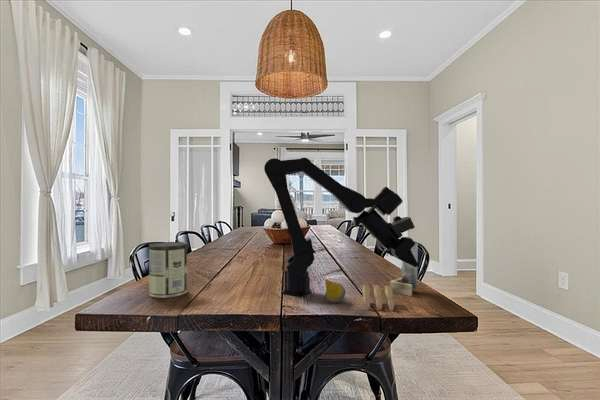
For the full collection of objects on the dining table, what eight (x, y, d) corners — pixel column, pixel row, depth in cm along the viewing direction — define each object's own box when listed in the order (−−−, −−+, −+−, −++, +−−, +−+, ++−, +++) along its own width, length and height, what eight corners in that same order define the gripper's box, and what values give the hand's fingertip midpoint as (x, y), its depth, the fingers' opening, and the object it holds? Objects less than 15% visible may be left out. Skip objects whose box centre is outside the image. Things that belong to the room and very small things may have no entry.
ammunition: (362, 283, 96) (364, 290, 88) (390, 284, 95) (395, 292, 87) (362, 301, 96) (364, 310, 88) (390, 302, 95) (395, 312, 87)
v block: (395, 296, 101) (395, 285, 101) (385, 287, 110) (385, 278, 110) (413, 295, 101) (413, 285, 101) (402, 287, 110) (402, 278, 110)
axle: (398, 286, 106) (399, 242, 106) (406, 284, 109) (406, 241, 109) (412, 289, 102) (412, 244, 102) (420, 287, 105) (420, 242, 105)
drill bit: (351, 304, 94) (337, 283, 88) (332, 311, 95) (317, 291, 89) (346, 288, 98) (332, 267, 92) (329, 295, 99) (314, 275, 93)
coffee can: (164, 287, 109) (164, 241, 109) (194, 290, 106) (194, 242, 106) (140, 296, 99) (140, 245, 99) (172, 299, 96) (173, 246, 96)
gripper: (408, 208, 96) (448, 249, 97) (387, 206, 115) (420, 241, 115) (379, 237, 96) (419, 278, 96) (362, 231, 114) (396, 266, 115)
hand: (414, 264), depth 106 cm, fingers closed on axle, 4 cm apart
